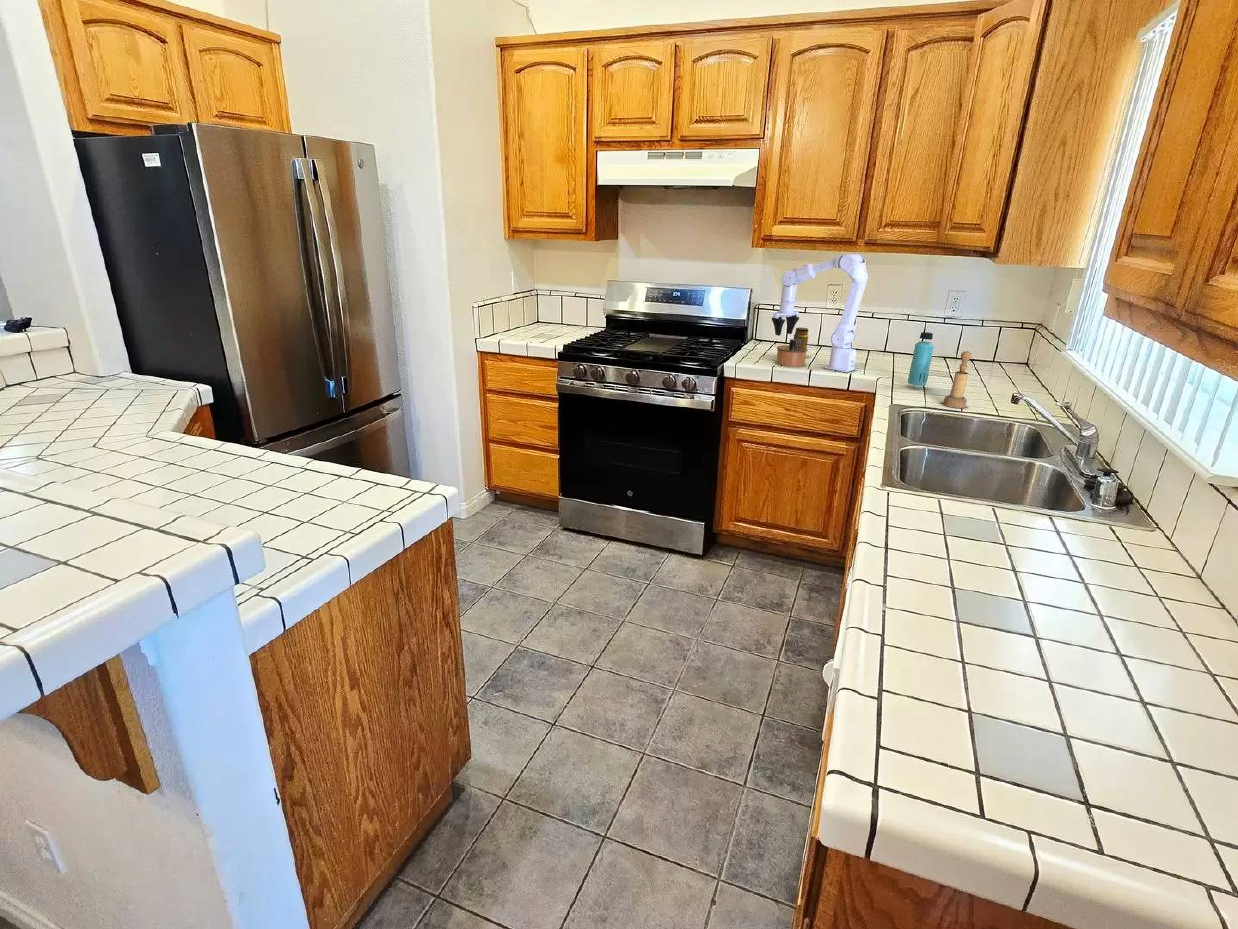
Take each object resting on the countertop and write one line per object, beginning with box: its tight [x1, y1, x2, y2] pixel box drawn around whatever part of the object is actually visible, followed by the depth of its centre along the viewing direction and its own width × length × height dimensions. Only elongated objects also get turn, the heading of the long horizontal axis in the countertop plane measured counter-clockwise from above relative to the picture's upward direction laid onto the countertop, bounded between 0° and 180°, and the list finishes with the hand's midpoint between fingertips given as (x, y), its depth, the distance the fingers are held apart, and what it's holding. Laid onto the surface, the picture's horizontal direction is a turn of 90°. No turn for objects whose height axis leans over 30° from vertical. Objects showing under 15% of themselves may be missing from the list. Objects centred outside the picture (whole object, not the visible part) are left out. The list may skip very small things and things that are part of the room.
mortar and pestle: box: [943, 351, 972, 409], centre depth 212 cm, size 7×6×18 cm
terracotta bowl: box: [775, 349, 807, 368], centre depth 265 cm, size 11×11×6 cm
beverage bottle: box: [907, 331, 935, 387], centre depth 232 cm, size 6×7×20 cm
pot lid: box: [776, 338, 808, 353], centre depth 263 cm, size 12×12×4 cm
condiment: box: [793, 327, 810, 358], centre depth 278 cm, size 7×8×12 cm
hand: (783, 334), depth 271 cm, fingers open, 7 cm apart
